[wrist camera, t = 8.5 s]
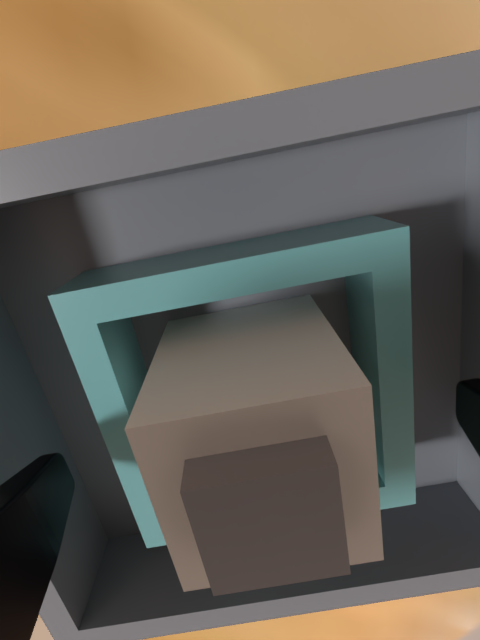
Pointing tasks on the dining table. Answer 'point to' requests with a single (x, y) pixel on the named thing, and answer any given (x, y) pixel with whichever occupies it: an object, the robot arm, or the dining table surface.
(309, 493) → the cube with square boss
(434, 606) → the dining table surface
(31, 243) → the box
